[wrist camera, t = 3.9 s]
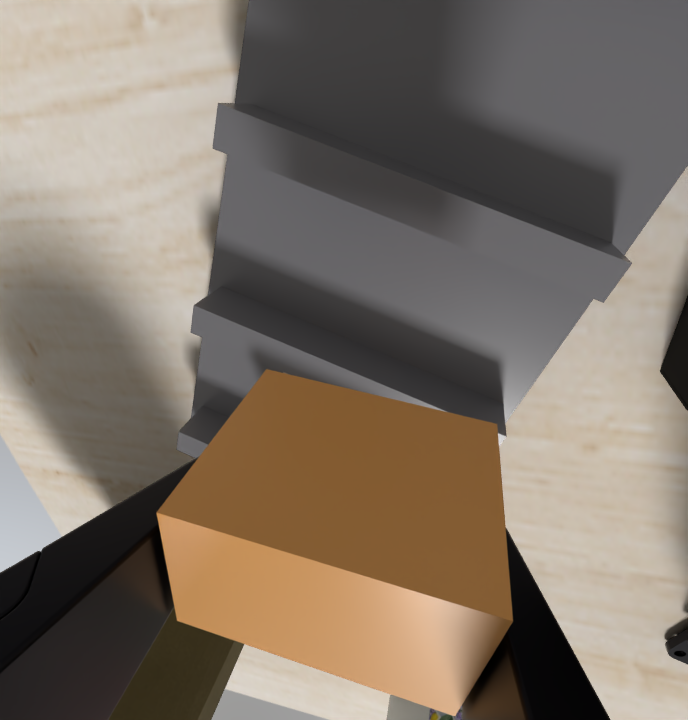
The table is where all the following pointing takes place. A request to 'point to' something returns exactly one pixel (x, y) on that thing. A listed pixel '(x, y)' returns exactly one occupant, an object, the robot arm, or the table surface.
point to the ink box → (415, 711)
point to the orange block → (347, 538)
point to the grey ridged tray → (432, 192)
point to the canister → (179, 675)
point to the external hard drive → (678, 359)
